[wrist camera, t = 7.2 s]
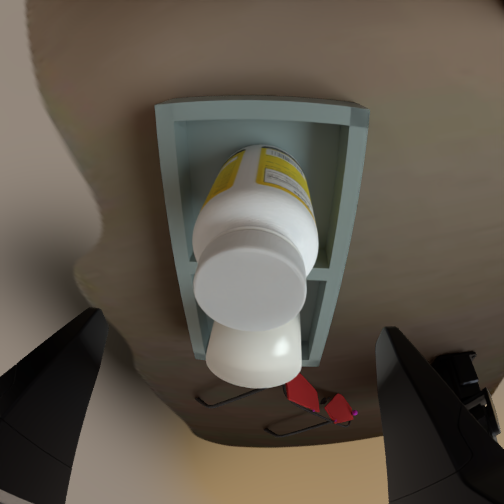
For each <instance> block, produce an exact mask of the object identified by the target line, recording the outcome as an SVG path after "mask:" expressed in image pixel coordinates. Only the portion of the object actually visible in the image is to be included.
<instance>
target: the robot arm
mask: <svg viewBox="0 0 504 504" xmlns="http://www.w3.org/2000/svg"><path fill="white" fill-rule="evenodd" d="M108 329H109V327H108V323H107V321H106V319H105V317H104V315H103V312H102V310H101V309H99V308H94V307H89V308H88V309H86V310H85V311H83V312H82V313H81V314H79V315H78V316H77V317H75V318H74V319H73V320H71V321H70V322H69V323H67V324H66V325H65V326H64V327H62V328H61V329H60V330H58V331H57V332H56V333H54V334H53V335H52V336H51V337H49V338H48V339H47V340H45V341H44V342H43V343H42V344H40V345H39V346H38V347H37V348H35V349H34V350H33V351H32V352H30V353H29V354H28V355H27V356H25V357H24V358H23V359H22V360H20V361H19V362H18V363H17V365H14V366H13V367H12V368H11V369H9V370H8V371H7V372H6V373H4V374H3V375H2V376H1V377H0V504H65V501H66V495H67V490H68V485H69V480H70V475H71V470H72V465H73V461H74V456H75V452H76V448H77V444H78V440H79V436H80V432H81V428H82V425H83V421H84V418H85V414H86V410H87V407H88V404H89V400H90V397H91V394H92V391H93V388H94V385H95V381H96V378H97V375H98V372H99V369H100V365H101V360H102V356H103V352H104V347H105V343H106V339H107V335H108ZM375 354H376V370H377V389H378V399H379V405H380V412H381V420H382V428H383V436H384V445H385V455H386V466H387V477H388V478H387V479H388V495H389V504H504V449H503V448H502V447H501V446H500V445H499V444H498V442H497V438H496V435H498V434H500V433H501V432H500V426H499V422H498V418H497V413H496V410H495V406H494V404H493V401H492V398H491V395H490V393H489V392H488V390H487V388H486V387H485V388H484V389H482V391H481V390H480V387H479V384H478V381H479V380H478V377H477V374H476V372H475V369H474V366H473V364H472V361H473V359H474V358H475V357H476V352H469V353H461V354H453V355H445V356H439V357H437V358H436V359H435V361H434V362H433V364H432V365H430V364H429V363H428V362H427V360H426V359H425V358H424V357H423V356H422V355H421V353H420V352H419V351H418V350H417V349H416V348H415V347H414V346H413V344H412V343H411V342H410V341H409V340H408V339H407V338H406V337H405V335H404V334H403V333H402V332H401V331H400V330H399V329H398V328H397V327H395V326H390V327H384V328H383V329H382V331H381V334H380V336H379V338H378V340H377V342H376V346H375ZM486 404H487V406H486V407H485V406H484V405H486Z"/></svg>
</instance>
